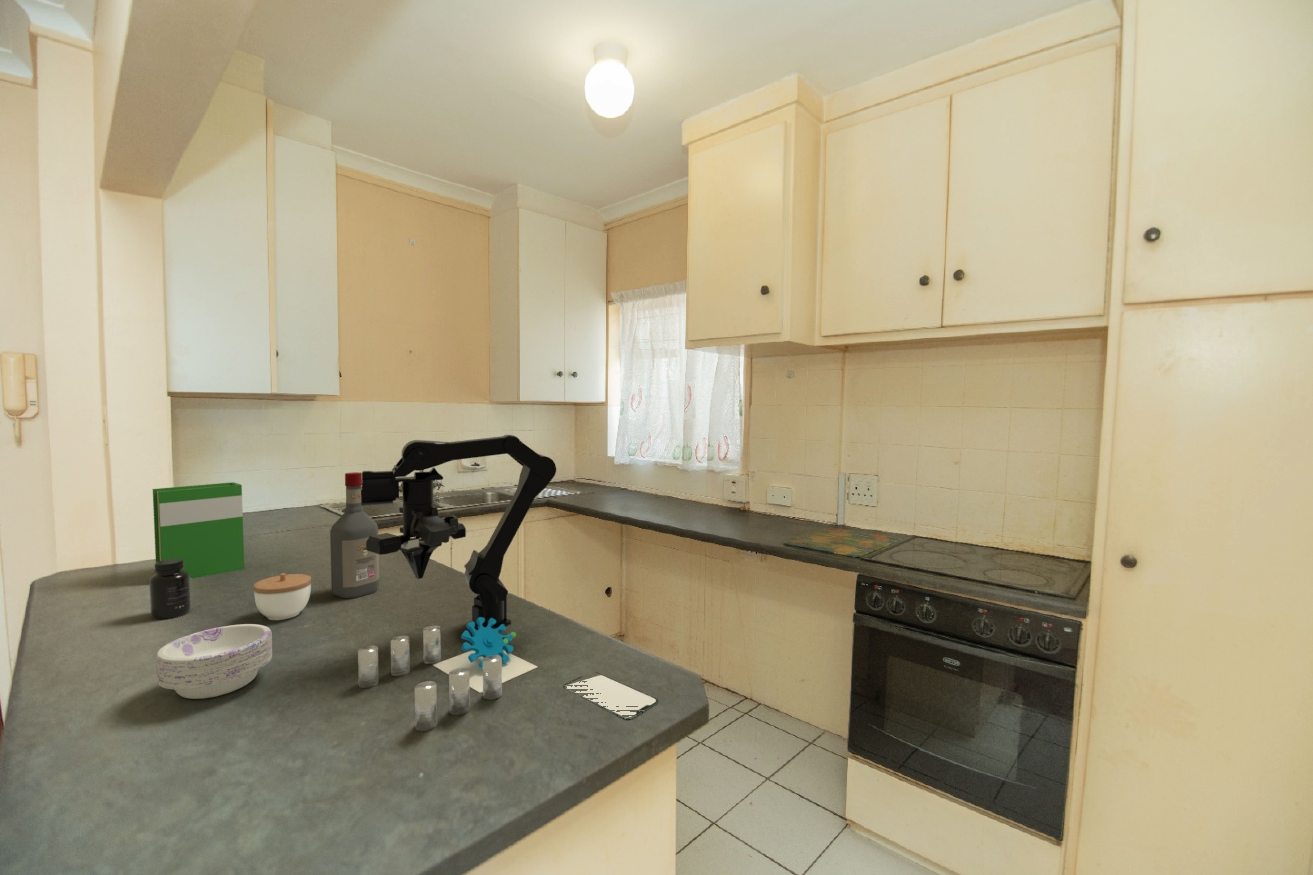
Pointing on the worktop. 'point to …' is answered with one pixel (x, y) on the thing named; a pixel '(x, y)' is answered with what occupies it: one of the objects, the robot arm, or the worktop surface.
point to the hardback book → (200, 527)
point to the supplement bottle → (170, 590)
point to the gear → (487, 641)
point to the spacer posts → (428, 689)
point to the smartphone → (614, 695)
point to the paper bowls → (214, 660)
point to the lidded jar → (282, 595)
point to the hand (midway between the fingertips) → (419, 578)
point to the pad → (509, 669)
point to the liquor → (353, 546)
